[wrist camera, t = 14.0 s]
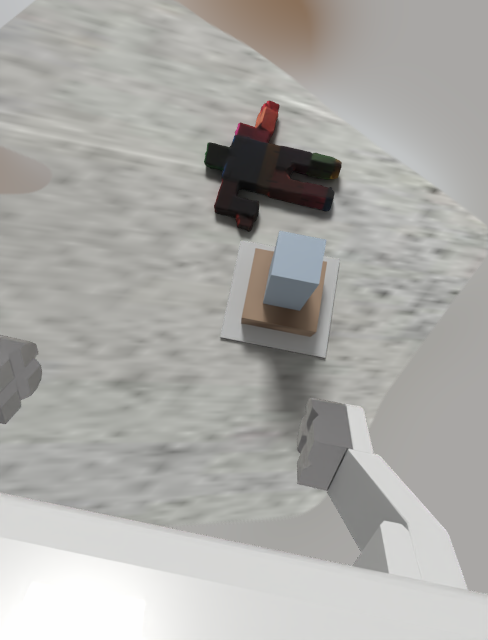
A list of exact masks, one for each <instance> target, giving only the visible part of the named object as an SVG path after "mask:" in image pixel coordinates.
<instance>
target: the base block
mask: <svg viewBox="0 0 488 640" xmlns="http://www.w3.org/2000/svg"><path fill="white" fill-rule="evenodd" d="M273 254H274V251H268V250H263V249H258V248H255V253H254V258H253V263H252V268H251V273H250V278H249V283H248V288H247V293H246V298H245V303H244V308H243V313H242V318H241V323H242V324H247V325H252V326H257V327H262V328H267V329H273V330H278V331H283V332H288V333H293V334H298V335H303V336H308V337H311V336H312V335H313V334H315V333H316V331H317V325H318V318H319V312H320V305H321V299H322V292H323V286H324V279H325V273H326V266H327V262H326V261H323V263H322V270H321V276H320V282H319V285H318V287H317V288H316V289H315V291H314V292H313V293H312V295H311V296H310V298H309V299H308V300H307V302H306V303H305V304H304V306H303V307H302V308H301V310H300V311H298V310H293V309H288V308H283V307H278V306H273V305H268V304H263V300H264V295H265V290H266V285H267V279H268V274H269V269H270V265H271V261H272V258H273Z"/></svg>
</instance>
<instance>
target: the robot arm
mask: <svg viewBox="0 0 488 640" xmlns="http://www.w3.org/2000/svg"><path fill="white" fill-rule="evenodd" d="M37 355H38V349H37V345H36V344H35V343H33V342H30V341H25V340H21V339H16V338H12V337H8V336H3V335H0V423H2V424H6V423H7V422H8V421H9V420H10V419H11V418H12V417H13V415H14V414H15V413H16V412H17V411H18V410H19V409H20V408H21V400H22V399H25V398H27V397H29V396H31V395H32V394H33V393H34V392H35V390H36V389H37V388H38V385H39V383H40V381H41V377H42V369H41V365H40V364H39V362H38V361H37V360H36V359H35V357H36V356H37ZM297 450H298V451H299V453H300V456H299V459H298V462H297V484H300V485H305V486H309V487H313V488H317V489H322V490H326V491H327V493H328V495H329V496H330V498H331V500H332V502H333V503H334V505H335V507H336V509H337V510H338V512H339V514H340V516H341V518H342V519H343V521H344V523H345V525H346V526H347V528H348V530H349V532H350V533H351V535H352V537H353V539H354V540H355V542H356V544H357V546H358V548H359V549H360V551H361V554H360V555H359V557H358V558H357V560H356V561H355V562H354V564H353V565H352V566H351V565H346V564H341V563H336V562H331V561H327V560H322V559H317V558H312V557H307V556H302V555H298V554H293V553H288V552H283V551H279V550H273V549H269V548H264V547H259V546H255V545H249V544H245V543H240V542H235V541H230V540H226V539H221V538H216V537H211V536H207V535H202V534H197V533H192V532H187V531H183V530H178V529H173V528H168V527H163V526H158V525H154V524H149V523H144V522H139V521H134V520H130V519H125V518H120V517H115V516H110V515H106V514H101V513H96V512H91V511H86V510H82V509H77V508H72V507H67V506H62V505H57V504H53V503H48V502H43V501H38V500H33V499H29V498H24V497H19V496H14V495H9V494H5V493H0V640H488V594H484V593H480V592H475V591H471V590H468V589H467V586H466V583H465V580H464V577H463V574H462V571H461V569H460V566H459V563H458V560H457V557H456V554H455V551H454V549H453V546H452V543H451V540H450V537H449V534H448V532H447V531H446V530H445V529H444V528H443V527H442V525H441V524H440V523H439V522H438V521H437V520H436V519H435V517H434V516H433V515H432V514H431V513H430V512H429V511H428V510H427V508H426V507H425V506H424V505H423V504H422V503H421V502H420V500H419V499H418V498H417V497H416V496H415V495H414V494H413V493H412V491H411V490H410V489H409V488H408V487H407V486H406V485H405V484H404V483H403V481H402V480H401V479H400V478H399V477H398V476H397V475H396V473H395V472H394V471H393V470H392V469H391V468H390V467H389V465H388V464H387V463H386V462H385V461H384V460H383V459H382V458H381V456H380V455H376V454H374V452H373V448H372V443H371V439H370V434H369V430H368V426H367V421H366V417H365V413H364V409H363V408H362V407H360V406H354V405H349V404H342V403H337V402H332V401H326V400H321V399H316V398H311V397H310V398H309V400H308V402H307V405H306V415H305V416H304V417H302V419H301V422H300V426H299V431H298V437H297Z"/></svg>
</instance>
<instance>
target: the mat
mask: <svg viewBox="0 0 488 640" xmlns="http://www.w3.org/2000/svg"><path fill="white" fill-rule="evenodd" d="M255 248H258V249H263V250H268V251H274V250H275V246H270V245H265V244H260V243H254V242H249V241H244V240H241V242H240V246H239V251H238V256H237V260H236V265H235V270H234V274H233V279H232V284H231V289H230V293H229V298H228V303H227V307H226V312H225V317H224V321H223V326H222V331H221V335H220V337H221V338H226V339H231V340H236V341H241V342H246V343H251V344H256V345H261V346H266V347H271V348H276V349H282V350H287V351H292V352H297V353H302V354H307V355H312V356H317V357H322V358H325V357H326V350H327V343H328V336H329V330H330V323H331V316H332V309H333V302H334V295H335V288H336V281H337V275H338V268H339V261H340V259H338V258H333V257H327V256H324V257H323V261H326V262H327V266H326V273H325V279H324V286H323V292H322V299H321V305H320V312H319V318H318V325H317V331H316V333H315V334H313V335H312V336H311V337H308V336H303V335H298V334H293V333H288V332H283V331H278V330H273V329H267V328H262V327H257V326H252V325H247V324H242V323H241V318H242V313H243V308H244V303H245V298H246V293H247V288H248V283H249V278H250V273H251V268H252V263H253V258H254V253H255Z"/></svg>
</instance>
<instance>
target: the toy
mask: <svg viewBox="0 0 488 640" xmlns="http://www.w3.org/2000/svg"><path fill="white" fill-rule="evenodd" d="M278 111H279V104H276V103H275V102H272V101H267V103H265V104H264V105H263V106H262V107H261V111H260V113H259V115H258V117H257V120H256V125H255V127H253V126H250V125H247V124H243V123H239V124H238V127H237V130H236V131H235V136H234V139H233V142H232V145H231V146H230V147H226V146H222V145H218V144H215V143H208V144H207V151H206V153H205V155H206V156H205V161H204V163H205V165H206V166H207V167H209V168H213V169H219V170H223V174H222V184H221V186H220V189H219V192H218V196H217V199H216V202H215V205H214V208H215V212H216V213H218V214H221V215H226V216H230V217H234V218H236V222H237V227H238V228H241V229H244V230H247V231H248V232H250V231H251V229H252V227H253V223H254V222H255V220H256V218H257V215H258V212H259V202H258V201H252V200H248V199H244V198H239V197H237V195H238V192H239V190H241V189H243V190H248V191H252V192H256V193H259V194H264V195H267V196H269V197H270V198H274V199H278V200H283V201H286V202H290V203H295V204H299V205H303V206H307V207H311V208H317V209H321V210H324V211H329V210H330V207H331V204H332V202H333V197H334V191H333V190H332V188H331V187H330V188H328V187H324V186H322V185H317V184H312V183H308V182H305V183H303V182H300V181H297V180H292V179H290V178H289V177H290V175H291V173H292V172H293V171H295V172H298V173H301V174H307V175H308V176H314V177H316V178H323V179H336V178H338V176H339V173H340V169H341V164H342V163H341V162H340V161H339V160H337V159H335V158H333V157H330V156H325V155H321V154H318V153H311V152H307V151H303V150H299V149H294V148H290V147H285V146H278V145H275V144H270V143H269V140H270V138H271V136H272V134H273V132H274V128H275V123H276V120H277V118H278Z"/></svg>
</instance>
